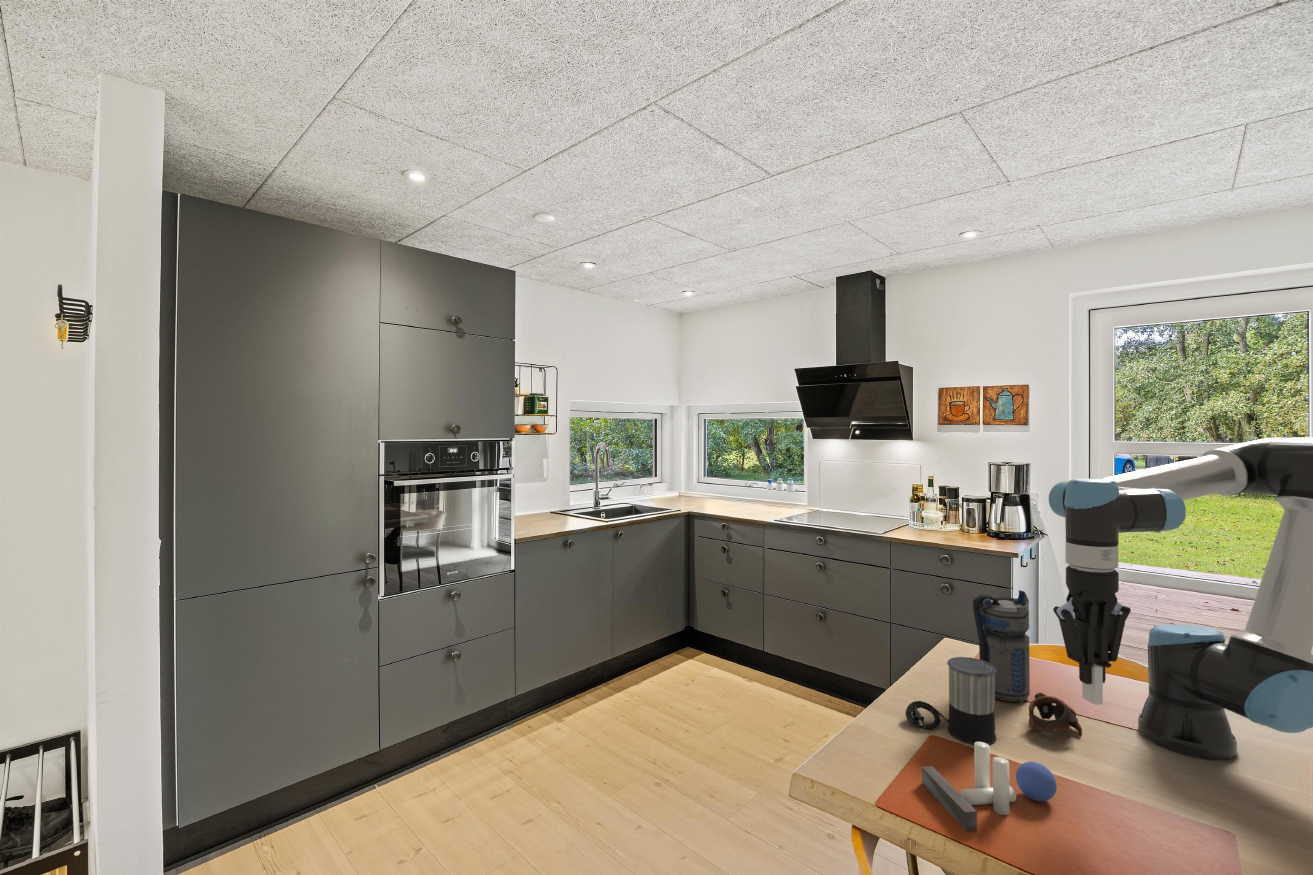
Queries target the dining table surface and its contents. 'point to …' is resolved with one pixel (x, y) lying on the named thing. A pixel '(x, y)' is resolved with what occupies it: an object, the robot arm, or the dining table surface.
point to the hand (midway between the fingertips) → (1092, 700)
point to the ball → (1036, 781)
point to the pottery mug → (1061, 712)
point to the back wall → (949, 798)
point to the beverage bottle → (1005, 643)
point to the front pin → (983, 795)
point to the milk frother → (964, 702)
